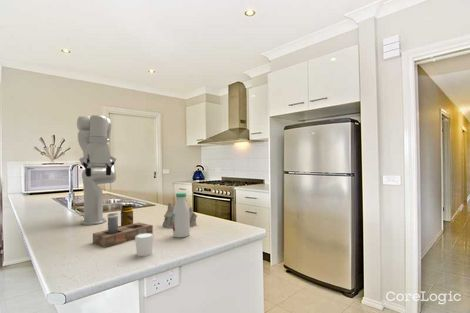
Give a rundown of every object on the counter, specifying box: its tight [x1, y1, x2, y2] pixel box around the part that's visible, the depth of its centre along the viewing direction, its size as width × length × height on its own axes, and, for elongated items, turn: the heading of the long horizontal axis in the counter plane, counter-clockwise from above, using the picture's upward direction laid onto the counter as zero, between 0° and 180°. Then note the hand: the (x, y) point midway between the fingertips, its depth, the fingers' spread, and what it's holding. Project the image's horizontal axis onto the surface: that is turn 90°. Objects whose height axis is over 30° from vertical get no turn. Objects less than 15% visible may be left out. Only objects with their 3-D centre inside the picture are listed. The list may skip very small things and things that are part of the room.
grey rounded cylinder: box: [107, 212, 119, 235], centre depth 114 cm, size 4×4×12 cm
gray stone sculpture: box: [162, 201, 198, 229], centre depth 141 cm, size 16×16×15 cm
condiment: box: [118, 203, 134, 227], centre depth 137 cm, size 7×8×12 cm
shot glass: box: [134, 233, 155, 257], centre depth 99 cm, size 7×7×7 cm
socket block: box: [92, 222, 154, 248], centre depth 118 cm, size 11×23×4 cm, turn 146°
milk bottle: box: [172, 192, 191, 238], centre depth 121 cm, size 8×8×20 cm
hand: (98, 175), depth 125 cm, fingers open, 9 cm apart
